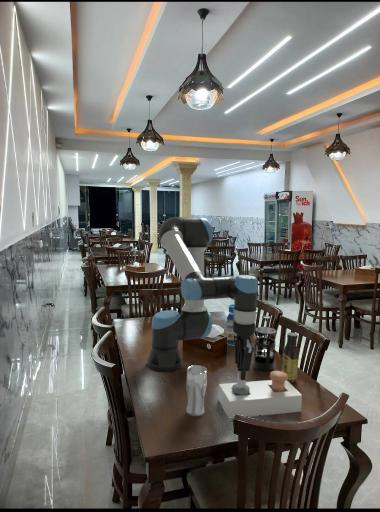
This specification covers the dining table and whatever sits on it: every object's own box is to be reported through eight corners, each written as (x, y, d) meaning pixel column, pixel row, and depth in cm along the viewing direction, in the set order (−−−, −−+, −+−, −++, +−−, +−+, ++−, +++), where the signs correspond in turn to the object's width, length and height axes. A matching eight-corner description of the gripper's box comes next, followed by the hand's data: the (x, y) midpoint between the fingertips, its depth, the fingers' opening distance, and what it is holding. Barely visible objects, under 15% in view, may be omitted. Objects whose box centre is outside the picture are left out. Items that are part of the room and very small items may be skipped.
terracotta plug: (273, 396, 124) (274, 379, 123) (266, 388, 130) (267, 371, 129) (289, 395, 125) (290, 377, 124) (281, 387, 131) (282, 370, 130)
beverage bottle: (245, 344, 184) (247, 306, 181) (232, 347, 179) (234, 309, 177) (234, 339, 191) (236, 303, 188) (222, 342, 186) (223, 304, 184)
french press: (278, 372, 154) (281, 320, 151) (257, 372, 152) (260, 320, 149) (268, 360, 165) (271, 312, 162) (248, 361, 164) (251, 312, 161)
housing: (229, 418, 118) (229, 401, 117) (218, 399, 129) (219, 384, 129) (300, 411, 123) (302, 395, 123) (284, 394, 135) (285, 378, 134)
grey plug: (234, 410, 121) (235, 392, 120) (229, 401, 127) (229, 384, 126) (251, 409, 123) (252, 391, 122) (245, 400, 128) (245, 382, 128)
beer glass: (184, 406, 125) (185, 365, 123) (204, 405, 125) (205, 364, 123) (185, 417, 118) (187, 374, 116) (206, 417, 118) (208, 374, 116)
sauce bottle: (279, 376, 150) (282, 330, 147) (294, 376, 149) (297, 331, 147) (282, 383, 143) (286, 336, 141) (298, 384, 143) (302, 336, 140)
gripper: (262, 327, 115) (258, 395, 118) (247, 315, 128) (244, 377, 131) (240, 327, 114) (237, 397, 117) (227, 316, 126) (224, 379, 129)
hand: (241, 387), depth 124 cm, fingers closed
